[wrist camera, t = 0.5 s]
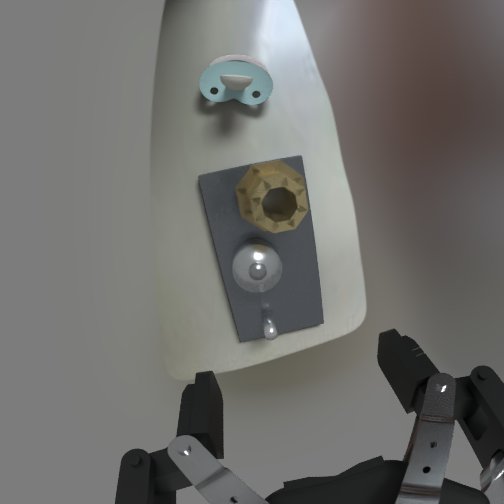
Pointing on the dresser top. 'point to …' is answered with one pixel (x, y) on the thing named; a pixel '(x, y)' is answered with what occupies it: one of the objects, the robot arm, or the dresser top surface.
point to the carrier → (263, 259)
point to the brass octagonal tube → (257, 187)
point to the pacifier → (236, 80)
